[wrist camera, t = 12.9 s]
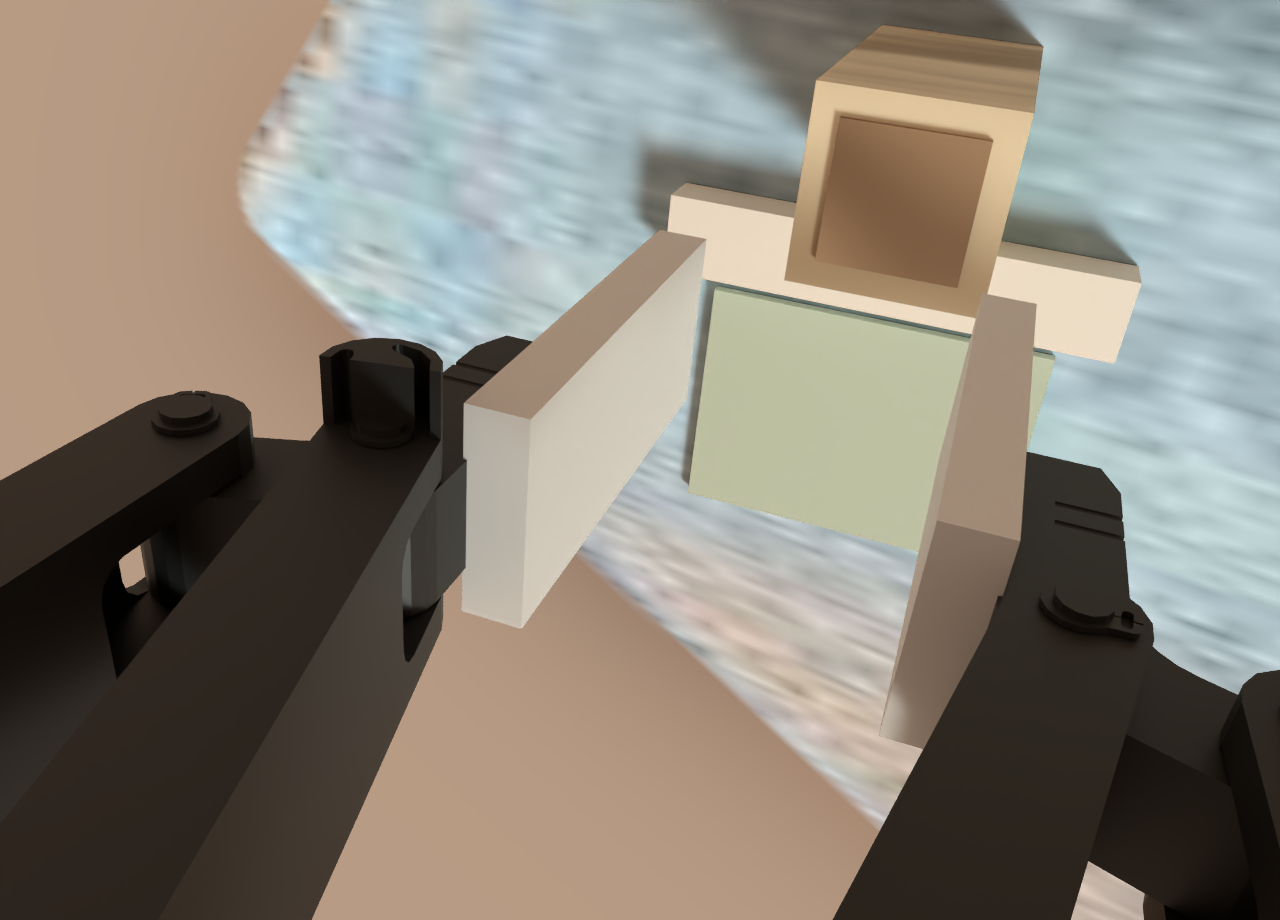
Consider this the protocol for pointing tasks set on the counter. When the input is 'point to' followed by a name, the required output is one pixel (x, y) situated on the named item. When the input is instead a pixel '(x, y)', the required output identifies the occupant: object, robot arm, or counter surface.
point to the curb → (1056, 281)
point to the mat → (828, 414)
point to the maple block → (913, 167)
